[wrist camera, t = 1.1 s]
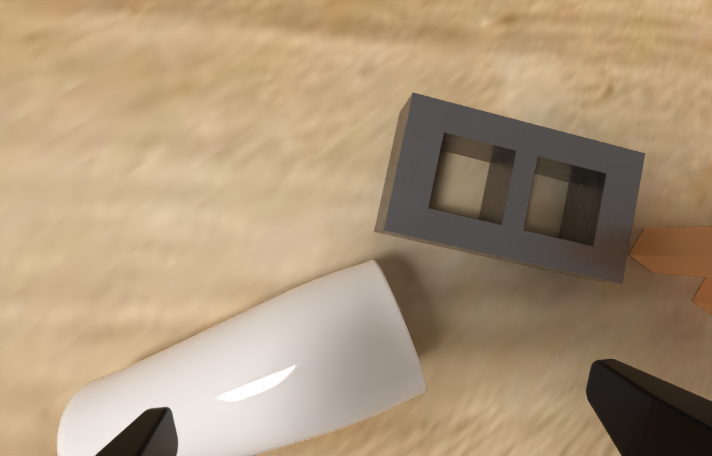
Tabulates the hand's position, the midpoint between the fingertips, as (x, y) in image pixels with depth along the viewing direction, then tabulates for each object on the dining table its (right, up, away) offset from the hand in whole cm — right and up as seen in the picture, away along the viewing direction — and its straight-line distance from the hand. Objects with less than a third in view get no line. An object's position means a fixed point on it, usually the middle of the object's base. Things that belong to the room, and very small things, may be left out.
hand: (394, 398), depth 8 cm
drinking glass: (-13, -6, +10) cm, 17 cm away
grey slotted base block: (+7, +5, +15) cm, 18 cm away
